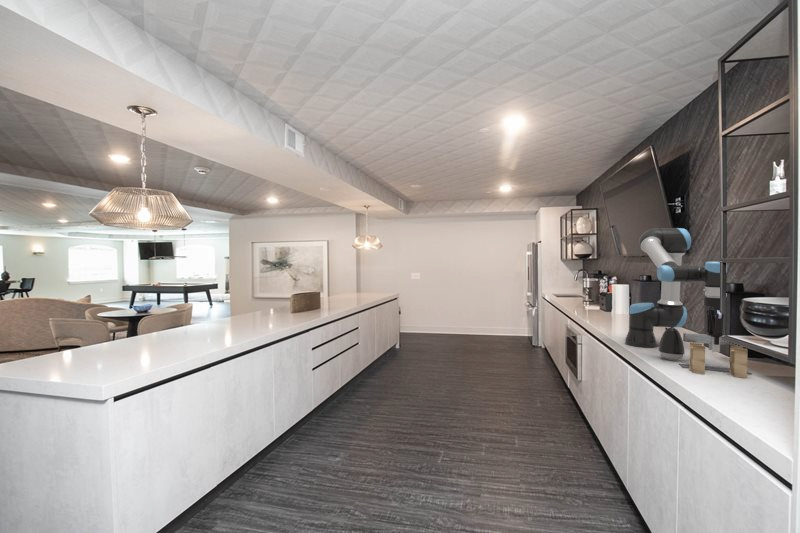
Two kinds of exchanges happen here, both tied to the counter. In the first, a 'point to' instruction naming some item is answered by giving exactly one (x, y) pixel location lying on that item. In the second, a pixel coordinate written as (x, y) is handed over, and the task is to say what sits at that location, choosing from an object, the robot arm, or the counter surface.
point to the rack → (736, 360)
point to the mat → (711, 368)
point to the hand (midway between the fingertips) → (714, 350)
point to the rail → (702, 339)
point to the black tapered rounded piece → (671, 345)
